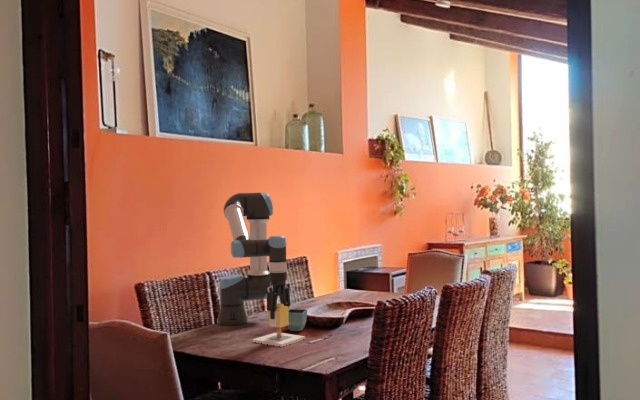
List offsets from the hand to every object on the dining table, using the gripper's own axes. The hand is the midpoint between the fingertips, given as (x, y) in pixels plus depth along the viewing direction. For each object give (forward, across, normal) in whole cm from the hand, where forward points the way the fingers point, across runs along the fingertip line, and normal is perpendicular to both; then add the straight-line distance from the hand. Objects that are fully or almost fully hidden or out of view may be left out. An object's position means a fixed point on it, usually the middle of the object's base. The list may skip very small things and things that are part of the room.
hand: (279, 324), depth 253 cm
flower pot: (+7, -20, -6) cm, 22 cm away
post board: (+7, 0, 0) cm, 7 cm away
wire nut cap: (0, 0, 0) cm, 0 cm away
